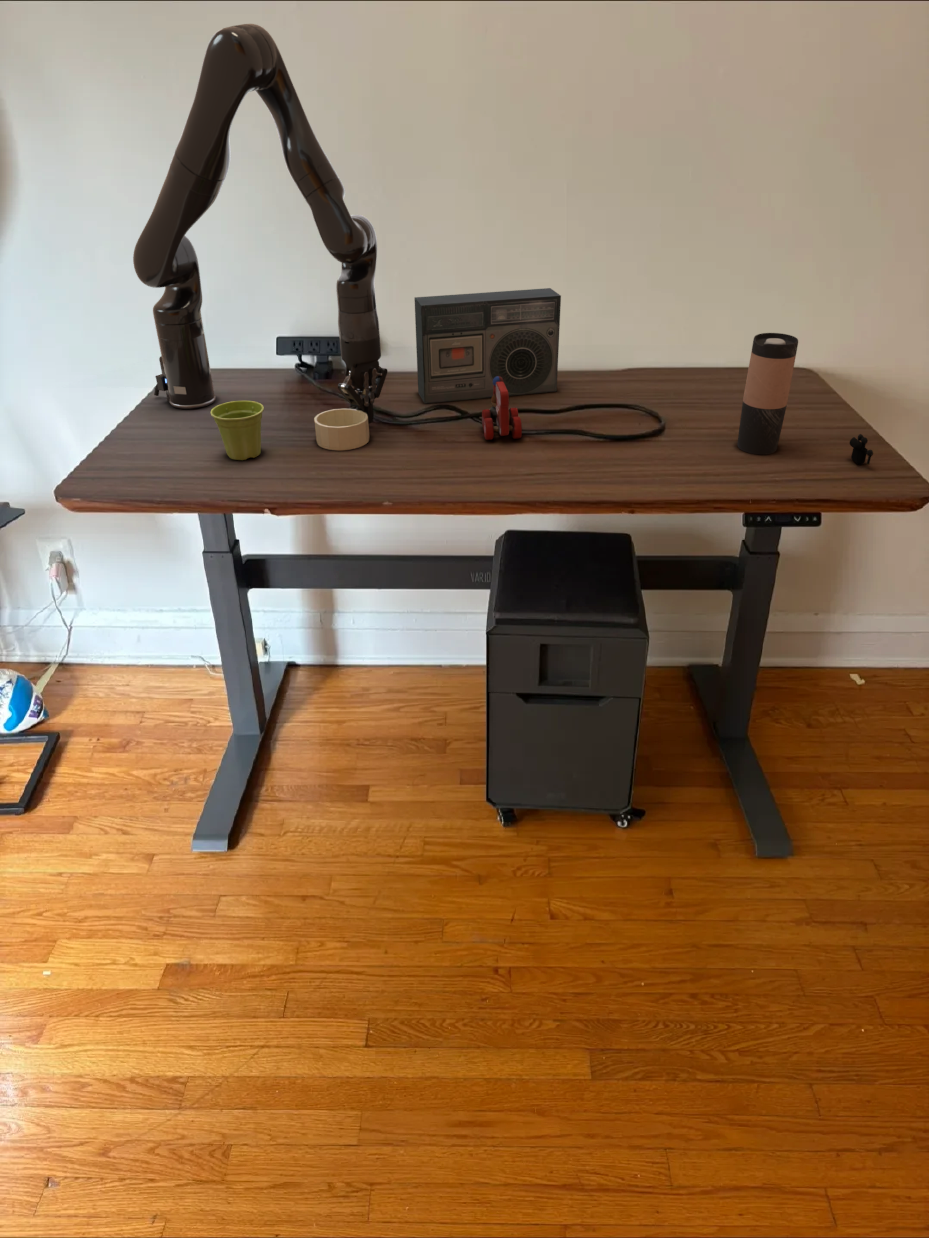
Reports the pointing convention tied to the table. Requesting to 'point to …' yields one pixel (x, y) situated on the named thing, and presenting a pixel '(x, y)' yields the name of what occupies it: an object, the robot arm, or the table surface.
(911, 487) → the table surface
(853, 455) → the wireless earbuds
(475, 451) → the table surface
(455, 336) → the cassette player
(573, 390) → the table surface
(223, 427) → the plant pot
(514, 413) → the red toy vehicle
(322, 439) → the beige round bowl
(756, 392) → the travel mug
